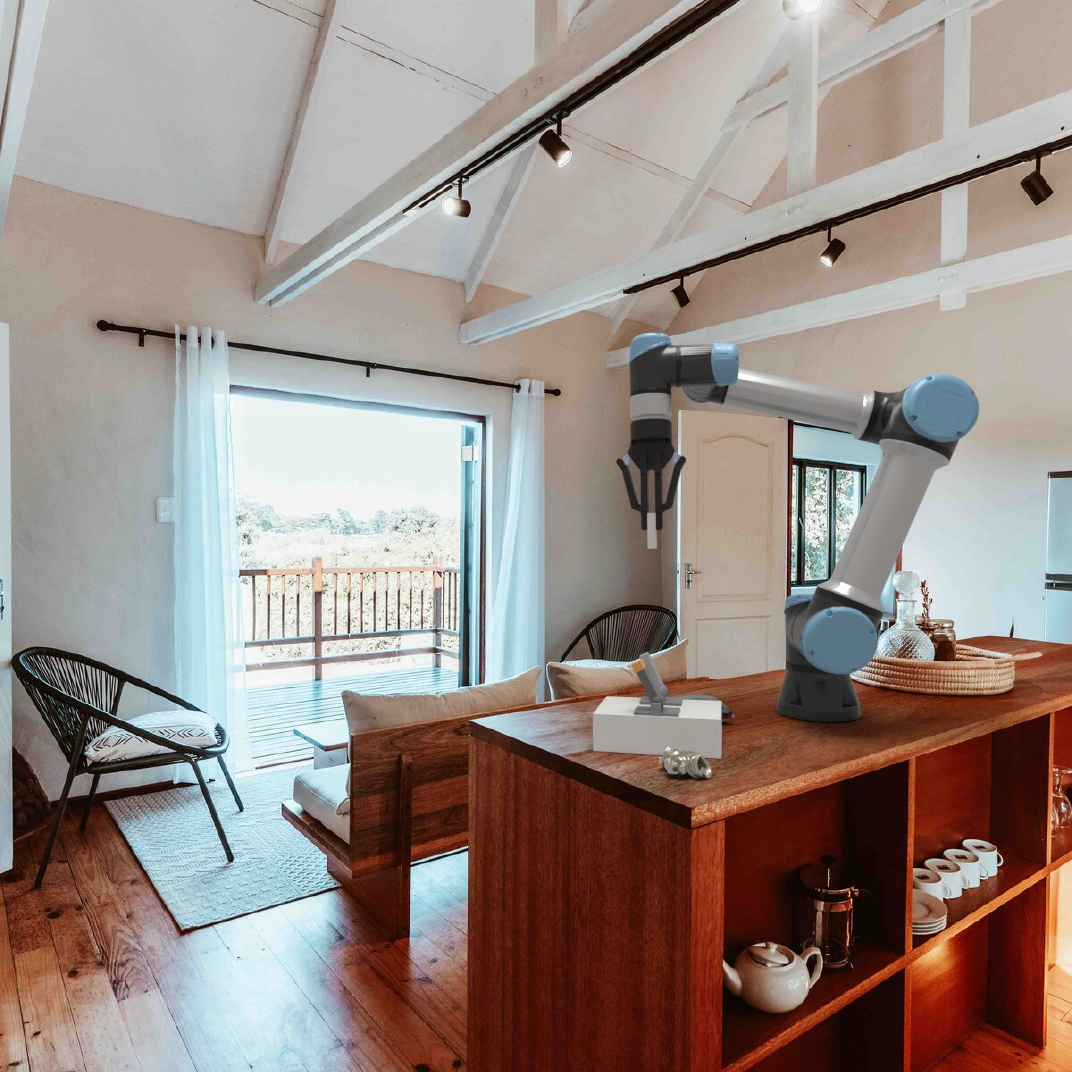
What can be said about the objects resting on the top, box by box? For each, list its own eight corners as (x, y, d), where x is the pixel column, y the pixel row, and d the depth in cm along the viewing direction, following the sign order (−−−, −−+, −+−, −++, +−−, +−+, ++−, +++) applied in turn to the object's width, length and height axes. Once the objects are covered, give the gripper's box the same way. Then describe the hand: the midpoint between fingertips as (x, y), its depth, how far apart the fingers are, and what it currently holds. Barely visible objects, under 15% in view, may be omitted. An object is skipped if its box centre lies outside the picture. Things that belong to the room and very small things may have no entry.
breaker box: (721, 735, 128) (720, 652, 129) (721, 758, 115) (720, 664, 115) (606, 729, 133) (605, 649, 133) (593, 751, 120) (592, 661, 120)
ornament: (646, 774, 108) (646, 749, 108) (674, 764, 113) (674, 740, 113) (692, 787, 102) (692, 761, 102) (720, 776, 107) (720, 751, 107)
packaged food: (661, 717, 144) (661, 691, 144) (721, 715, 144) (721, 690, 144) (672, 728, 135) (672, 701, 135) (736, 727, 136) (736, 700, 136)
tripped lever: (666, 702, 121) (642, 657, 122) (664, 706, 119) (641, 660, 120) (655, 707, 122) (632, 662, 123) (653, 711, 119) (630, 665, 120)
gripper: (688, 421, 139) (689, 548, 139) (618, 425, 142) (619, 548, 142) (685, 415, 132) (687, 548, 131) (612, 418, 135) (614, 549, 135)
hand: (652, 548), depth 137 cm, fingers closed
